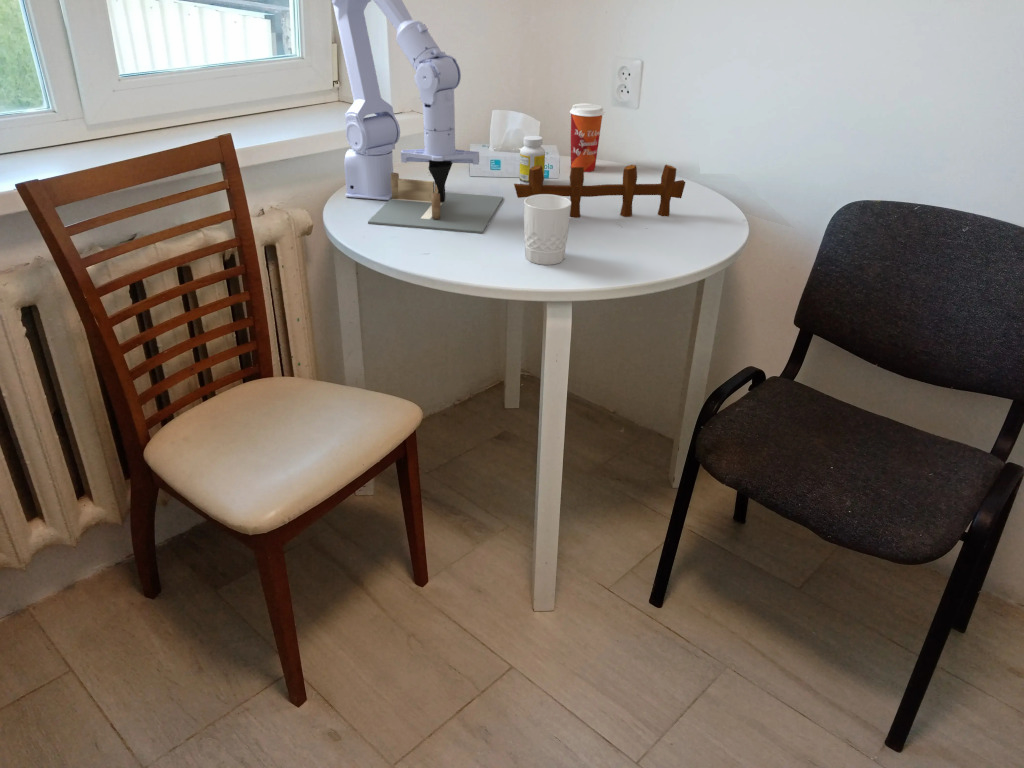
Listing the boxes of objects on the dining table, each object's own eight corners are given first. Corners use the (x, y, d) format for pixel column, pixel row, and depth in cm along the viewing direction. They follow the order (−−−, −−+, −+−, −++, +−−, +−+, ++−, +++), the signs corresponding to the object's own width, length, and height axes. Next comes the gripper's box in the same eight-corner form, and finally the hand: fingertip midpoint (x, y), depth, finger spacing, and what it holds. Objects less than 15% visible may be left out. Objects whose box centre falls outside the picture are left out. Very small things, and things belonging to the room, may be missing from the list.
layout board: (368, 223, 149) (367, 221, 149) (400, 190, 167) (400, 188, 167) (482, 233, 146) (482, 231, 146) (503, 198, 164) (503, 196, 164)
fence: (514, 219, 154) (515, 168, 148) (512, 214, 156) (513, 164, 151) (681, 217, 157) (688, 167, 152) (677, 212, 160) (684, 163, 155)
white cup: (520, 249, 140) (521, 194, 135) (564, 249, 141) (567, 194, 135) (524, 266, 133) (526, 209, 128) (570, 266, 134) (574, 209, 129)
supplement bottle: (544, 180, 176) (546, 135, 171) (542, 187, 171) (545, 141, 166) (520, 178, 176) (521, 133, 171) (518, 185, 172) (519, 140, 167)
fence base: (390, 199, 160) (389, 174, 158) (393, 196, 162) (392, 172, 159) (441, 203, 159) (441, 178, 156) (443, 200, 160) (443, 176, 158)
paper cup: (571, 174, 180) (576, 110, 173) (562, 164, 187) (565, 103, 180) (604, 172, 182) (609, 109, 175) (593, 163, 188) (598, 102, 181)
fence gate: (434, 202, 159) (434, 179, 156) (442, 202, 159) (442, 180, 156) (431, 219, 150) (431, 195, 148) (440, 219, 150) (439, 195, 148)
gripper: (396, 131, 142) (400, 205, 149) (476, 133, 142) (477, 207, 149) (402, 123, 148) (406, 194, 155) (480, 125, 148) (480, 196, 155)
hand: (441, 200), depth 152 cm, fingers closed, pressing on fence gate
